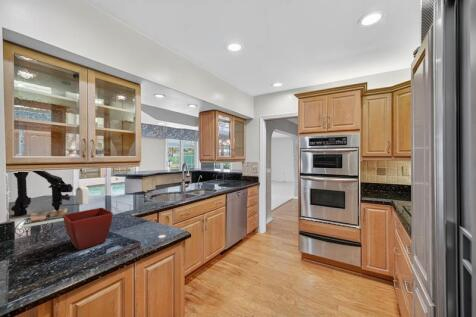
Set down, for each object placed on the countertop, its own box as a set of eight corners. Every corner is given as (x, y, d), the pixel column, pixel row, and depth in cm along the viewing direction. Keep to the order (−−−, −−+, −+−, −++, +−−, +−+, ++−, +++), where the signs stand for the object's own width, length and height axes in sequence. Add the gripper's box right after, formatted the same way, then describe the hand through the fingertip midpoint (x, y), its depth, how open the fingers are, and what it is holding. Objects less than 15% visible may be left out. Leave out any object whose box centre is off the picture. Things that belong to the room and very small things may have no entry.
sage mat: (21, 228, 137) (21, 227, 137) (25, 219, 153) (25, 219, 153) (71, 219, 154) (71, 218, 154) (70, 212, 170) (70, 212, 170)
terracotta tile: (30, 222, 146) (30, 220, 146) (32, 219, 153) (32, 216, 153) (45, 220, 151) (45, 217, 151) (46, 216, 158) (46, 214, 158)
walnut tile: (50, 218, 154) (49, 216, 153) (51, 214, 161) (50, 211, 161) (63, 216, 159) (63, 214, 158) (64, 212, 166) (64, 209, 166)
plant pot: (102, 233, 128) (102, 206, 127) (114, 241, 116) (113, 212, 115) (63, 244, 113) (62, 214, 112) (72, 255, 101) (70, 222, 100)
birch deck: (29, 220, 152) (29, 218, 152) (31, 215, 163) (31, 213, 163) (67, 213, 167) (67, 212, 167) (66, 210, 177) (66, 208, 177)
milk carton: (89, 203, 198) (88, 184, 197) (82, 205, 191) (82, 185, 190) (82, 203, 199) (81, 184, 198) (76, 205, 192) (75, 185, 191)
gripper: (70, 193, 162) (71, 212, 163) (69, 189, 176) (69, 207, 177) (51, 195, 155) (52, 215, 155) (51, 191, 169) (52, 210, 169)
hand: (57, 211), depth 164 cm, fingers closed
